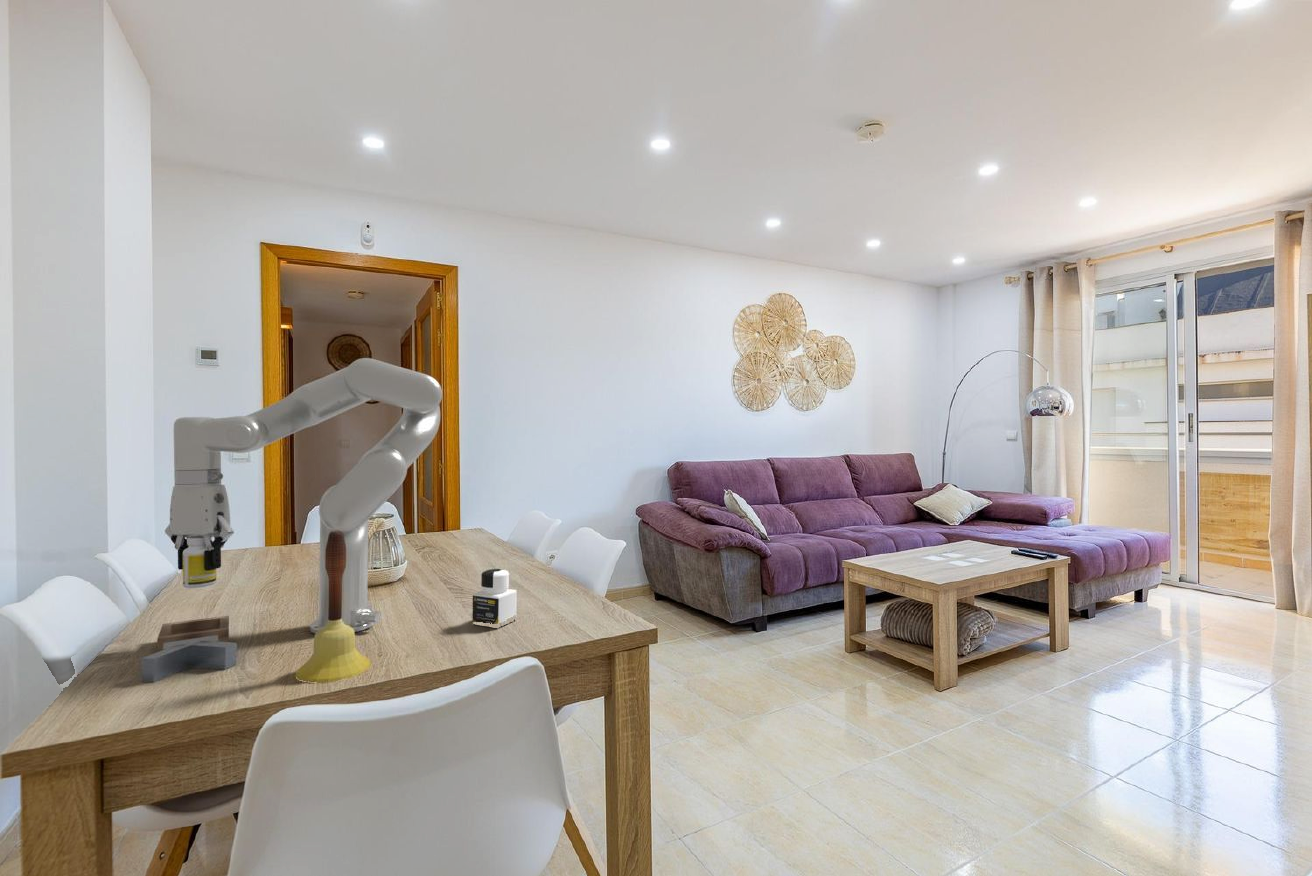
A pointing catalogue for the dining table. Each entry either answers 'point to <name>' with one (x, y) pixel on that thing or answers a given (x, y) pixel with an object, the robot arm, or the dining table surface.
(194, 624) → the sleeve block
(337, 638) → the handbell
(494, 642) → the dining table surface
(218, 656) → the v block
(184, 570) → the supplement bottle
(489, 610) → the medicine bottle
